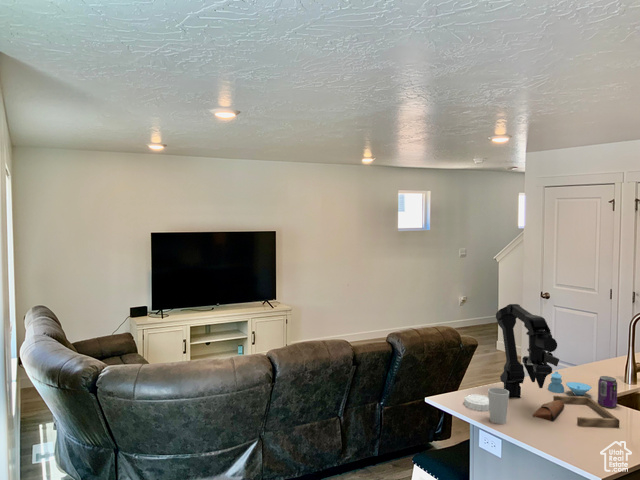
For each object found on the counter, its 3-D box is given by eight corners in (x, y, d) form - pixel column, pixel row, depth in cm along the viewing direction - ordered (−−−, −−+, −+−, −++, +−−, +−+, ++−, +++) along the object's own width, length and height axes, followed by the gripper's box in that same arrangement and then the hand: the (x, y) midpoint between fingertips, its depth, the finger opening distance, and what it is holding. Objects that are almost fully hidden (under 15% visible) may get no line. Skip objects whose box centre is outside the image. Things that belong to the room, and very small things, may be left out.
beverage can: (619, 409, 202) (620, 381, 201) (601, 407, 203) (602, 380, 203) (612, 403, 208) (613, 376, 208) (595, 401, 210) (595, 375, 210)
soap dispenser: (592, 394, 219) (593, 375, 219) (589, 401, 211) (590, 381, 211) (550, 386, 230) (551, 368, 230) (545, 392, 222) (546, 373, 222)
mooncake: (475, 399, 213) (475, 391, 213) (499, 407, 204) (499, 399, 203) (458, 405, 206) (458, 397, 206) (482, 414, 197) (482, 405, 196)
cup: (508, 418, 192) (508, 388, 192) (509, 425, 185) (509, 395, 184) (487, 415, 195) (487, 386, 194) (487, 423, 187) (488, 393, 187)
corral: (578, 426, 184) (579, 418, 184) (553, 402, 209) (553, 395, 209) (619, 427, 183) (619, 420, 183) (588, 403, 208) (588, 396, 208)
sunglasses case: (543, 403, 208) (551, 392, 205) (557, 415, 204) (566, 403, 202) (531, 416, 194) (540, 404, 191) (547, 429, 190) (556, 417, 188)
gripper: (565, 352, 187) (566, 392, 186) (548, 343, 205) (549, 379, 205) (536, 351, 188) (536, 391, 187) (521, 343, 206) (522, 379, 206)
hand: (537, 385), depth 196 cm, fingers open, 9 cm apart
